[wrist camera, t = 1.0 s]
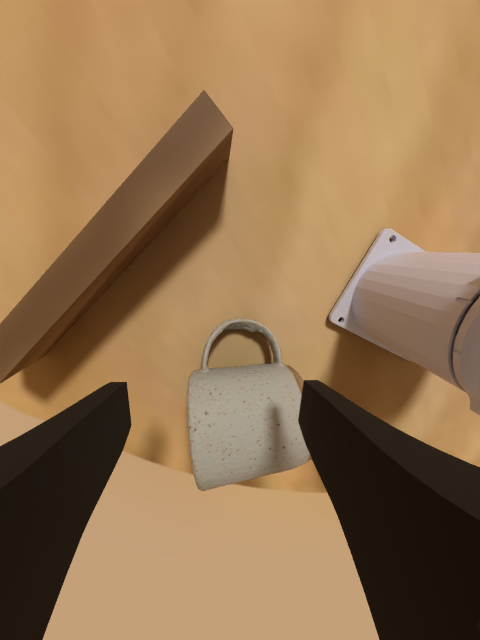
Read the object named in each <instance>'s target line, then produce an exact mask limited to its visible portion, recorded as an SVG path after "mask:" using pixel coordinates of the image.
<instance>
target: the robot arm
mask: <svg viewBox="0 0 480 640" xmlns="http://www.w3.org/2000/svg"><path fill="white" fill-rule="evenodd" d="M391 236H392V241H391V242H390V240H389V239H390V237H391ZM341 317H342V320H341V321H340V322H338V320H339V318H341ZM329 321H331V322H332V323H334V324H336V325H338V326H340V327H342V328H344V329H346V330H348V331H350V332H352V333H354V334H356V335H358V336H360V337H362V338H364V339H366V340H368V341H370V342H372V343H374V344H376V345H378V346H380V347H382V348H384V349H386V350H388V351H390V352H392V353H394V354H396V355H398V356H400V357H402V358H404V359H406V360H408V361H410V362H415V363H416V364H418V365H420V366H421V367H423V368H425V369H427V370H428V371H430V372H432V373H433V374H435V375H437V376H439V377H440V378H442V379H444V380H445V381H447V382H449V383H451V384H452V385H454V386H456V387H457V388H459V389H461V390H462V391H464V392H466V393H467V394H468V396H469V398H470V409H471V410H472V411H474V412H475V413H477V414H479V415H480V253H458V252H425V251H424V250H422V249H421V248H419V247H418V246H416V245H415V244H413V243H412V242H410V241H409V240H407V239H406V238H404V237H402V236H401V235H399V234H398V233H396V232H395V231H393V230H392V229H383V230H381V232H380V233H379V234H378V236H377V238H376V239H375V241H374V242H373V244H372V246H371V247H370V249H369V251H368V252H367V254H366V255H365V257H364V259H363V260H362V262H361V264H360V265H359V267H358V268H357V270H356V272H355V273H354V275H353V277H352V278H351V280H350V281H349V283H348V285H347V286H346V288H345V290H344V291H343V293H342V294H341V296H340V298H339V299H338V301H337V303H336V304H335V306H334V307H333V309H332V311H331V312H330V314H329ZM298 422H299V426H300V429H301V432H302V435H303V438H304V441H305V444H306V447H307V449H308V451H309V453H310V456H311V458H312V460H313V462H314V464H315V467H316V469H317V471H318V473H319V475H320V477H321V480H322V482H323V484H324V486H325V488H326V490H327V493H328V495H329V497H330V499H331V501H332V503H333V506H334V508H335V511H336V513H337V515H338V518H339V520H340V524H341V526H342V529H343V532H344V535H345V537H346V540H347V543H348V546H349V548H350V551H351V554H352V556H353V560H354V563H355V566H356V569H357V572H358V575H359V578H360V581H361V583H362V586H363V589H364V592H365V595H366V599H367V602H368V605H369V608H370V611H371V614H372V617H373V620H374V623H375V627H376V630H377V633H378V636H379V639H380V640H480V467H477V466H475V465H472V464H470V463H468V462H465V461H463V460H461V459H458V458H456V457H454V456H452V455H449V454H447V453H445V452H442V451H440V450H438V449H436V448H434V447H432V446H430V445H428V444H425V443H423V442H422V441H420V440H418V439H416V438H414V437H412V436H410V435H408V434H406V433H404V432H402V431H400V430H398V429H396V428H395V427H393V426H391V425H389V424H387V423H386V422H384V421H382V420H381V419H379V418H377V417H375V416H374V415H372V414H370V413H369V412H367V411H366V410H364V409H362V408H361V407H359V406H358V405H356V404H355V403H353V402H351V401H350V400H348V399H347V398H345V397H344V396H342V395H341V394H339V393H338V392H336V391H335V390H333V389H331V388H330V387H328V386H327V385H325V384H323V383H322V382H320V381H318V380H304V382H303V389H302V396H301V403H300V410H299V417H298ZM130 428H131V417H130V408H129V399H128V390H127V382H110V383H108V384H106V385H104V386H103V387H101V388H99V389H98V390H96V391H94V392H93V393H91V394H89V395H88V396H86V397H85V398H83V399H81V400H80V401H78V402H77V403H75V404H73V405H72V406H70V407H69V408H67V409H65V410H64V411H62V412H60V413H59V414H57V415H55V416H54V417H52V418H50V419H49V420H47V421H45V422H43V423H42V424H40V425H38V426H36V427H35V428H33V429H31V430H29V431H28V432H26V433H24V434H22V435H21V436H19V437H17V438H15V439H13V440H11V441H9V442H8V443H6V444H4V445H2V446H0V640H42V639H43V636H44V633H45V631H46V628H47V625H48V623H49V620H50V617H51V615H52V612H53V609H54V607H55V604H56V601H57V598H58V596H59V593H60V590H61V588H62V585H63V583H64V580H65V577H66V574H67V572H68V569H69V567H70V564H71V562H72V559H73V557H74V554H75V552H76V549H77V547H78V544H79V541H80V539H81V537H82V534H83V532H84V529H85V527H86V525H87V523H88V521H89V519H90V516H91V514H92V512H93V510H94V508H95V506H96V504H97V502H98V500H99V498H100V496H101V494H102V492H103V490H104V488H105V486H106V484H107V482H108V480H109V478H110V476H111V474H112V472H113V469H114V468H115V465H116V463H117V461H118V459H119V457H120V455H121V453H122V451H123V448H124V445H125V442H126V440H127V437H128V434H129V431H130Z"/></svg>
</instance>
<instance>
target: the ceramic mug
mask: <svg viewBox="0 0 480 640" xmlns="http://www.w3.org/2000/svg"><path fill="white" fill-rule="evenodd" d="M227 329H244V330H249V331H250V332H255V331H258V332H261V333H262V334H263V335H264V336H265V337H266V338H267V340H268V342H269V345H270V346H271V350H272V353H273V359H274V361H273V363H271V364H259V365H250V366H240V367H225V368H208V356H209V351H210V348H211V345H212V343H213V341H214V340H215V339H216V337H217V336H218V335H219V334H220V333H221V332H222V331H224V330H227ZM303 382H304V381H303V379H302V378H301V376H300V375H299V373H298V372H297V371H296V370H294V369H293V368H292V367H290V366H288V365H284V364H283V363H282V356H281V350H280V347H279V344H278V342H277V340H276V338H275V336H274V334H273V333H272V332H271V331H270V330H269V329H268V328H267V327H266V326H265V325H263V324H261V323H259V322H257V321H254V320H250V319H232V320H228V321H225V322H223V323H222V324H220V325H219V326H218V327H216V329H215V330H214V331H213V332H212V333H211V335H210V336H209V338H208V340H207V342H206V344H205V347H204V351H203V356H202V368H201V369H200V370H195V371H193V372H191V374H190V377H189V381H188V391H187V401H188V404H187V409H188V430H189V444H190V454H191V460H192V467H193V473H194V477H195V480H196V485H197V487H198V489H199V490H201V491H205V490H209V489H212V488H216V487H220V486H225V485H229V484H233V483H238V482H242V481H246V480H250V479H253V478H257V477H261V476H265V475H269V474H274V473H279V472H283V471H287V470H290V469H293V468H296V467H298V466H300V465H302V464H304V463H306V462H308V461H309V460H311V459H312V458H311V456H310V453H309V451H308V449H307V447H306V444H305V441H304V438H303V435H302V432H301V429H300V426H299V422H298V417H299V410H300V403H301V396H302V389H303Z"/></svg>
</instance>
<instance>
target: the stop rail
mask: <svg viewBox="0 0 480 640" xmlns="http://www.w3.org/2000/svg"><path fill="white" fill-rule="evenodd" d="M232 134H233V127H232V126H231V125H230V123H229V122H228V121H227V119H226V118H225V117H224V115H223V114H222V113H221V111H220V110H219V109H218V107H217V106H216V105H215V104H214V102H213V101H212V100H211V98H210V97H209V96H208V94H207V93H206V92H205V90H203V92H202V93H201V94H200V95H199V96H198V97H197V98H196V100H195V101H194V102H193V103H192V104H191V105H190V106H189V108H188V109H187V110H186V111H185V112H184V113H183V115H182V116H181V117H180V118H179V119H178V120H177V121H176V123H175V124H174V125H173V126H172V127H171V128H170V129H169V131H168V132H167V133H166V134H165V135H164V136H163V138H162V139H161V140H160V141H159V142H158V143H157V144H156V146H155V147H154V148H153V149H152V150H151V151H150V152H149V154H148V155H147V156H146V157H145V158H144V159H143V160H142V162H141V163H140V164H139V165H138V166H137V167H136V169H135V170H134V171H133V172H132V173H131V174H130V175H129V177H128V178H127V179H126V180H125V181H124V182H123V183H122V185H121V186H120V187H119V188H118V189H117V190H116V192H115V193H114V194H113V195H112V196H111V197H110V198H109V200H108V201H107V202H106V203H105V204H104V205H103V206H102V208H101V209H100V210H99V211H98V212H97V213H96V215H95V216H94V217H93V218H92V219H91V220H90V221H89V223H88V224H87V225H86V226H85V227H84V228H83V229H82V231H81V232H80V233H79V234H78V235H77V236H76V238H75V239H74V240H73V241H72V242H71V243H70V244H69V246H68V247H67V248H66V249H65V250H64V251H63V252H62V254H61V255H60V256H59V257H58V258H57V259H56V260H55V262H54V263H53V264H52V265H51V266H50V267H49V269H48V270H47V271H46V272H45V273H44V274H43V275H42V277H41V278H40V279H39V280H38V281H37V282H36V283H35V285H34V286H33V287H32V288H31V289H30V290H29V292H28V293H27V294H26V295H25V296H24V297H23V298H22V300H21V301H20V302H19V303H18V304H17V305H16V306H15V308H14V309H13V310H12V311H11V312H10V313H9V315H8V316H7V317H6V318H5V319H4V320H3V321H2V323H1V324H0V383H2V382H3V381H5V380H7V379H8V378H10V377H11V376H13V375H15V374H16V373H18V372H19V371H21V370H22V369H24V368H26V367H27V366H29V365H30V364H32V363H33V362H35V361H37V360H38V359H40V358H41V357H43V356H44V355H45V354H46V353H47V352H48V351H49V350H50V349H51V348H52V347H53V345H54V344H55V343H56V342H57V341H58V340H59V339H60V338H61V337H62V336H63V335H64V334H65V333H66V332H67V330H68V329H69V328H70V327H71V326H72V325H73V324H74V323H75V322H76V321H77V320H78V319H79V318H80V317H81V316H82V314H83V313H84V312H85V311H86V310H87V309H88V308H89V307H90V306H91V305H92V304H93V303H94V302H95V301H96V299H97V298H98V297H99V296H100V295H101V294H102V293H103V292H104V291H105V290H106V289H107V288H108V287H109V286H110V284H111V283H112V282H113V281H114V280H115V279H116V278H117V277H118V276H119V275H120V274H121V273H122V272H123V271H124V270H125V268H126V267H127V266H128V265H129V264H130V263H131V262H132V261H133V260H134V259H135V258H136V257H137V256H138V255H139V253H140V252H141V251H142V250H143V249H144V248H145V247H146V246H147V245H148V244H149V243H150V242H151V241H152V240H153V238H154V237H155V236H156V235H157V234H158V233H159V232H160V231H161V230H162V229H163V228H164V227H165V226H166V225H167V223H168V222H169V221H170V220H171V219H172V218H173V217H174V216H175V215H176V214H177V213H178V212H179V211H180V210H181V209H182V207H183V206H184V205H185V204H186V203H187V202H188V201H189V200H190V199H191V198H192V197H193V196H194V195H195V194H196V192H197V191H198V190H199V189H200V188H201V187H202V186H203V185H204V184H205V183H206V182H207V181H208V180H209V179H210V177H211V176H212V175H213V174H214V173H215V172H216V171H217V170H218V169H219V168H220V167H221V166H222V165H223V164H224V163H225V161H226V160H227V159H228V158H229V155H230V148H231V141H232Z"/></svg>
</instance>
